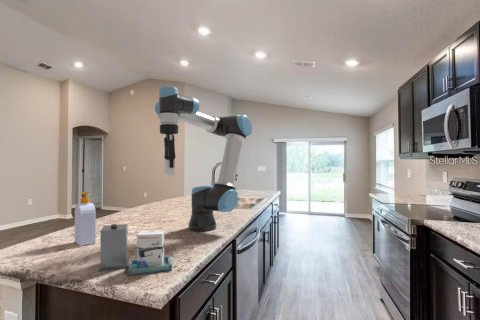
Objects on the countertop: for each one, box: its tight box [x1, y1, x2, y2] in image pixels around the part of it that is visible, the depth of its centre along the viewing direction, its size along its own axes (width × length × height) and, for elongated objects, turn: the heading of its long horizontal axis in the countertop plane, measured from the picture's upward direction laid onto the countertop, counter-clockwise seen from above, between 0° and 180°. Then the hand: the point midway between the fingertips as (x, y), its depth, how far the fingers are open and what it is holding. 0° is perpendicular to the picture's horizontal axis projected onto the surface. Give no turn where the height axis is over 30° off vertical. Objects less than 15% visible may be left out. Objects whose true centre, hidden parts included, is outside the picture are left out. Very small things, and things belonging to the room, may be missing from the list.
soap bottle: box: [74, 191, 97, 247], centre depth 124 cm, size 9×7×23 cm
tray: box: [128, 255, 173, 277], centre depth 95 cm, size 14×10×2 cm
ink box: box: [136, 229, 165, 268], centre depth 95 cm, size 8×5×12 cm, turn 98°
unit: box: [98, 223, 130, 272], centre depth 98 cm, size 9×9×14 cm
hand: (169, 175), depth 115 cm, fingers open, 13 cm apart
